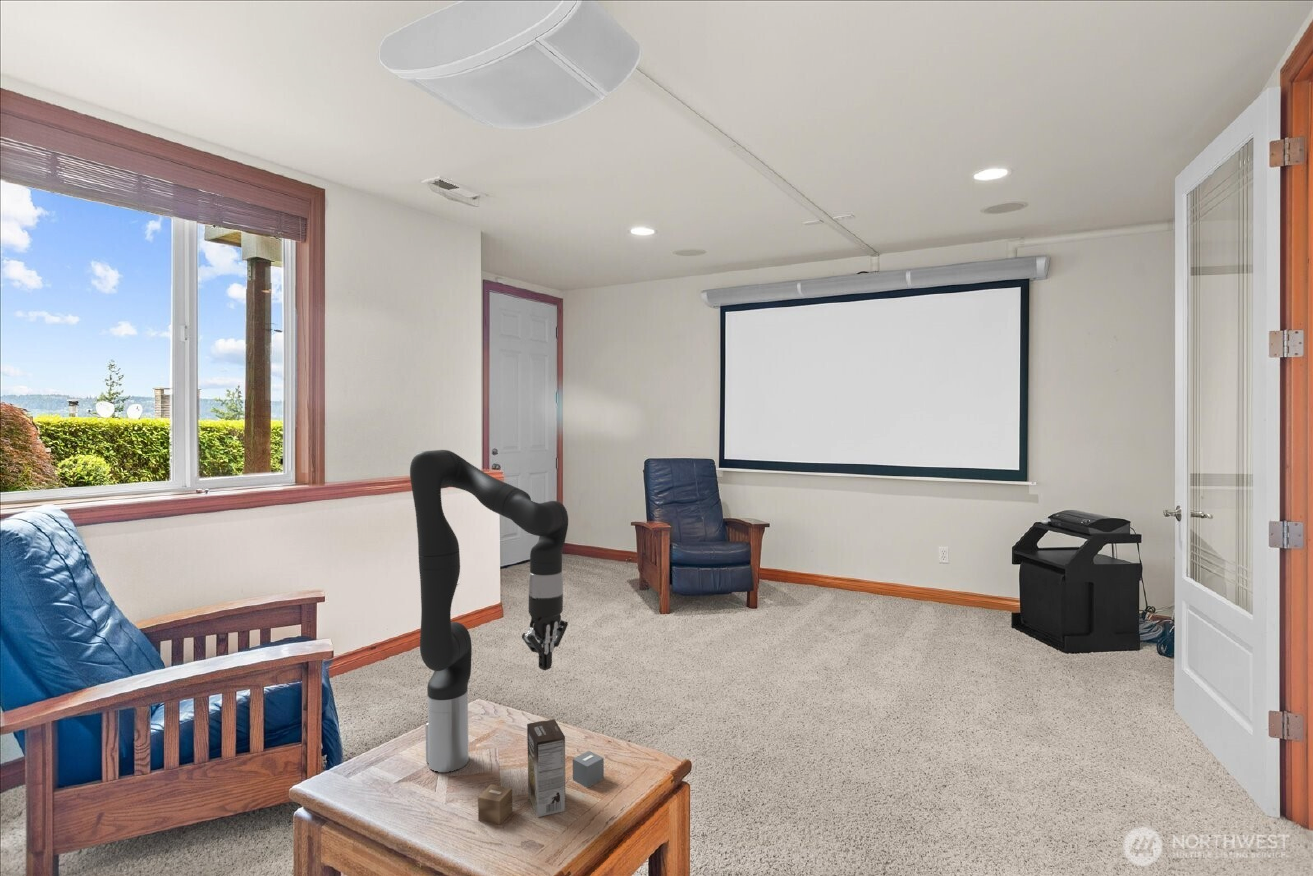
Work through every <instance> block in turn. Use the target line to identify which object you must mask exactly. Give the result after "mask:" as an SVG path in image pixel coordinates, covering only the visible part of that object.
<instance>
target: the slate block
mask: <svg viewBox="0 0 1313 876" xmlns="http://www.w3.org/2000/svg"><path fill="white" fill-rule="evenodd" d="M604 761H605V760H604V757H603V756H600V755H598V754H596V753H595V752H592V750H588V751H585V752H584V753H582V754H580V755H577V756H576V757H573V758H572V780H573V782H576V783H577V784H579V785H581V786H582V787H584V788H586V789H590V788H591V787H592V786H594V785H596V784H598V783H599V782H601V781H603V780H604V779H605V777H604V776H605V774H604V773H605V771H604V770H605V768H604V767H605V766H604V763H605V762H604Z"/></svg>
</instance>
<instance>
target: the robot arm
mask: <svg viewBox="0 0 1313 876" xmlns="http://www.w3.org/2000/svg"><path fill="white" fill-rule="evenodd" d="M409 476H410V477H409V479H410V486H411V490H412V498H413V503H414V510H415V517H416V518H415V519H416V532H417V546H418V547H417V549H418V550H417V551H418V569H419V570H418V571H419V581H420V605H421V613H420V614H421V616H420V634H419V635H420V637H419V652H420V656H421V659H422V661H423V663H424V665H425V666H426V667H427V668H428V669H429V670H432V671H433V674H432V676H431V677H430V679H429V680H428V683H427V688H426V689H427V694H426V695H427V722H426V723H425V725H424V726H425V728H424V729H425V763H426V762H428V763H429V764H428V763H427V764H428V768H429V767H430V768H429V769H430V770H431V769H432V770H434V771H433V772H435V771H438V772H437V773H450V772H449V771H451V772H454V770H455V771H457V770H456V769H458V770H460V769H462V768H464V767H465V766H466V765H467V764H468V763H469V760H470V758H469V757H470V756H469V754H470V753H469V750H470V749H469V694H468V693H469V691H468V689H469V687H468V686H469V682H470V678H471V672H472V650H473V649H472V646H473V645H472V639H471V635H470V631H469V630H468V628H467V627H466V626H465V625H464V624H463V623H460V622H457V621H452V619H451V616H452V615H451V613H452V611H451V610H452V603H453V600H454V596H455V592H456V590H457V586H458V582H459V579H460V574H461V573H460V572H461V557H460V545H459V541H458V538H457V536H456V533H455V532H454V530H453V528H452V526H451V525H450V524H449V521H448V520H447V518H446V517H445V513H444V511H443V506H442V505H443V503H442V489H447V488H454V489H459V490H463V491H465V492H468V493H470V495H473V496H474V497H475V498H476V499H477V500H478V501H479V502H480V504H481V505H483V506H484V507H485V508H487V510H490V511H492V512H493V513H495V514H498V515H499V516H502V517H505V518H507V519H510V520H511V521H512V522H513V523H514V524H515V525H516V526H518V527H519V528H521V530H522V531H523V530H524V532H526V533H527V534H530V535H533V536H536V537H538V541H537V543H536V544H534V545H533V546H532V548H531V550H530V553H529V554H530V555H529V579H528V614H529V616H530V623H529V629H528V630H527V632H526V633H525V632H523V633H522V634H521V639H522V640H523V641H524V643H525V644H526V645H527V647H528V648H529V650H530V651H531V652H532V653H536V654H538V667H539V669H540V670H543V671H548V670H551V668H552V664H553V652H554V650H555V648H558V647H559V645H560V643H561V641H562V639H563V637H564V635H565V633H566V630H567V628H568V625H569V622H568V621H565V620H563V619H562V616H561V614H562V613H563V610H564V609H563V608H564V580H563V572H562V571H563V550H564V547H565V546H564V545H565V542H566V539H567V534H568V529H569V528H568V527H569V514H568V511H567V508H566V507H565V506H564V504H563V503H562V502H560V501H557V500H550V501H546V502H545V501H544V502H540V503H539V502H535V501H534V500H532V499H531V498H532V497H531V495H530V494H529V493H527V492H526V491H525V490H523V489H521V488H518V487H516V486H514V485H512V484H510V483H507V482H505V481H502V480H500V479H498V478H495V477H494V476H492V475H490V474H488V473H486V472H484V471H483V470H481V469H480V468H478V467H476V466H474V464H472V463H470V462H468V461H467V460H466V459H465V458H464V457H461V456H460V455H459V454H457V453H455V452H453V451H451V450H450V449H449V450H448V449H436V450H435V449H434V450H425V451H420V452H418V453H416V454H415V455H414V456H413V458H412V460H411V463H410V467H409ZM467 762H468V763H467ZM432 770H431V771H432Z"/></svg>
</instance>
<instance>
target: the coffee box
mask: <svg viewBox="0 0 1313 876" xmlns="http://www.w3.org/2000/svg"><path fill="white" fill-rule="evenodd" d="M526 730H527V731H526V733H527V737H526V738H527V739H526V741H527V784H528V785H527V787H528V788H527V790H528V791H527V792H528V793H527V795H528V797H529V800H530V802H531V805H532V808H533V811H534V812H535V813H534V814H535V815H536V818H541V817H546V816H548V815H552V814H553V815H554V814H558V813H563V812H565V811H566V736H565V734H564V733H563V731H562V730H561V727H560V726H559V724H558V723H557V721H556V719H555V718H554V719H548V720H540V721H535V722H530V723H527V724H526Z"/></svg>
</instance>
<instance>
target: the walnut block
mask: <svg viewBox="0 0 1313 876" xmlns="http://www.w3.org/2000/svg"><path fill="white" fill-rule="evenodd" d="M477 809H478V811H477V816H478V818H477V820H478V822H482V823H488V824H492V825H498V826H500V825H501V824H502V823H503V822H504V821H505V820H506V819H507V818H508V816H509V815H511V813H512V812H513V788H511V787H507V786H503V785H496V784H490V785H489V786H488V787H487V788H486V789H485V790H483V792H482V793H481V794H480V795H479V796H478V797H477Z"/></svg>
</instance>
